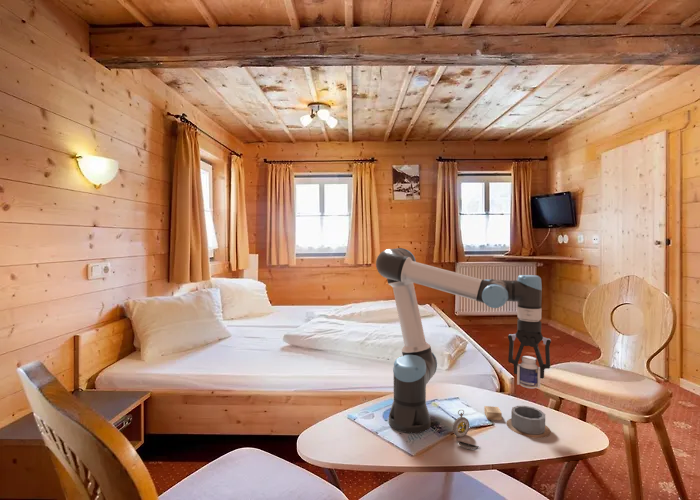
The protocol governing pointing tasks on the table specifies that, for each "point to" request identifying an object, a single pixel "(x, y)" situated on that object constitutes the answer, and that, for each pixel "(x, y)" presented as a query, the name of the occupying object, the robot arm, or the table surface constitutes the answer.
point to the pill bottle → (529, 372)
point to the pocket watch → (462, 430)
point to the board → (545, 434)
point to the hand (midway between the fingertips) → (528, 385)
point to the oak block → (492, 413)
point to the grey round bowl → (528, 420)
